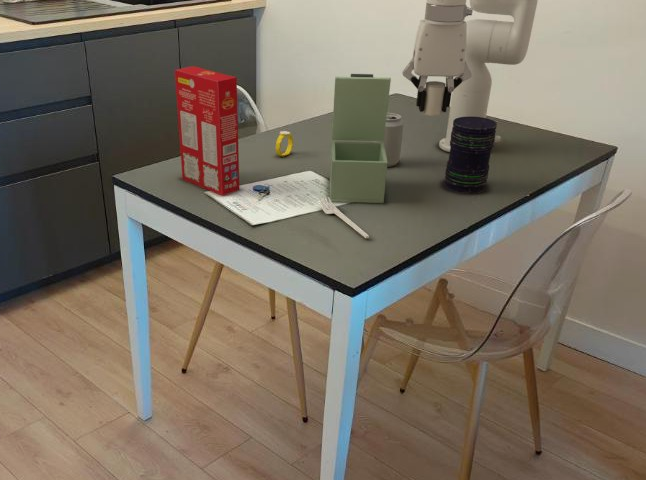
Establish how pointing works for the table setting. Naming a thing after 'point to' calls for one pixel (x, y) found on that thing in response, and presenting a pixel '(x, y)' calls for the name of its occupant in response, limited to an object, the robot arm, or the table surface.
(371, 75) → the box lid
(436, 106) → the off-white cylinder
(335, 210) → the fork
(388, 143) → the can
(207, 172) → the food packaging
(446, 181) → the dark blue disc stack
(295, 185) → the table surface
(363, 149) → the olive green lidded box
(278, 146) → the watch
